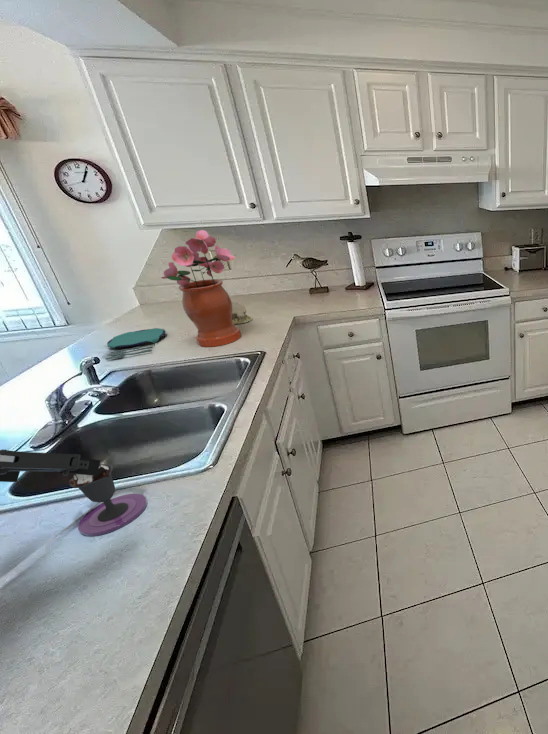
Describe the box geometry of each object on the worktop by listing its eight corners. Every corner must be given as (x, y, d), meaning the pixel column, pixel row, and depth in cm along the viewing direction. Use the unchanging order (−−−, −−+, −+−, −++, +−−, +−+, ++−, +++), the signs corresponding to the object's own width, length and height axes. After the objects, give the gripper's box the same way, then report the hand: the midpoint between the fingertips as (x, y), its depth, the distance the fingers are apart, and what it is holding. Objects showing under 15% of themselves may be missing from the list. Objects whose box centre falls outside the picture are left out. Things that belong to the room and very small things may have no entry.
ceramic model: (249, 315, 204) (243, 296, 200) (254, 321, 197) (248, 301, 192) (216, 322, 196) (209, 302, 192) (220, 328, 188) (213, 308, 184)
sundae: (91, 511, 87) (57, 455, 80) (132, 495, 91) (102, 440, 84) (91, 530, 82) (54, 471, 76) (134, 512, 86) (102, 455, 80)
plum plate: (64, 535, 82) (62, 532, 82) (114, 495, 92) (112, 492, 92) (114, 537, 82) (112, 534, 81) (160, 497, 91) (158, 493, 91)
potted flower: (260, 339, 175) (227, 230, 156) (188, 355, 162) (143, 238, 143) (253, 327, 189) (223, 225, 170) (187, 340, 176) (146, 232, 157)
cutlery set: (171, 329, 189) (169, 324, 188) (157, 352, 165) (155, 347, 164) (116, 338, 181) (114, 333, 180) (93, 363, 157) (91, 358, 156)
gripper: (-211, 496, 53) (-24, 498, 73) (-1, 479, 56) (125, 485, 76) (-184, 438, 56) (-11, 456, 76) (16, 424, 58) (133, 444, 78)
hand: (57, 471), depth 76 cm, fingers open, 13 cm apart
